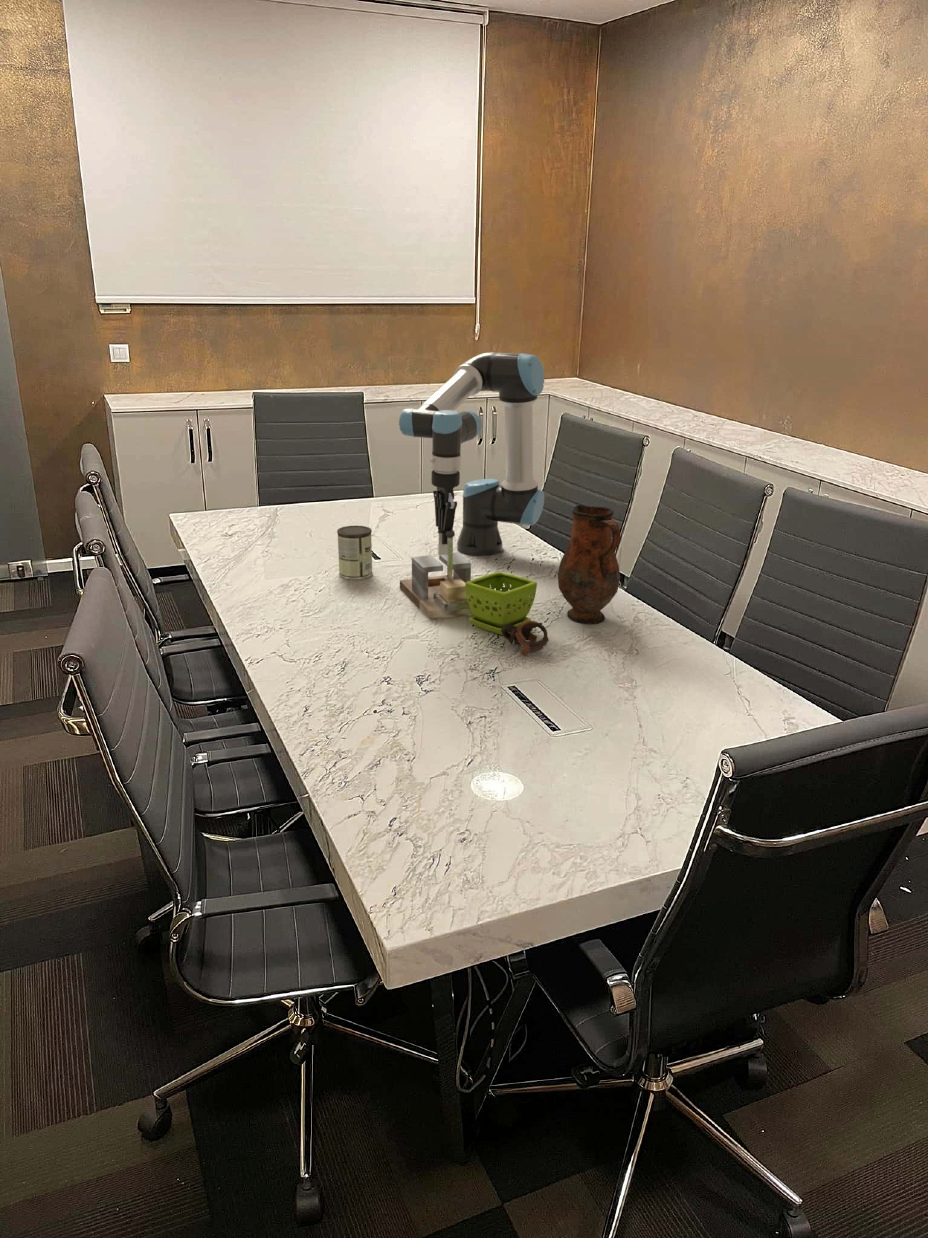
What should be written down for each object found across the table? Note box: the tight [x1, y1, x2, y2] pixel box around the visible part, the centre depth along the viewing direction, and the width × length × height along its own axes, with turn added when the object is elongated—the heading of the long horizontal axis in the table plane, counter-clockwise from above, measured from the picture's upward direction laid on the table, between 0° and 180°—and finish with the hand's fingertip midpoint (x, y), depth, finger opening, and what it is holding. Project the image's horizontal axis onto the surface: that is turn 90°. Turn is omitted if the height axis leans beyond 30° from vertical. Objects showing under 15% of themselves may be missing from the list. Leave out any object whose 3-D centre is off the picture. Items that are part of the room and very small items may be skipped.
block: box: [440, 579, 467, 603], centre depth 251 cm, size 6×6×6 cm
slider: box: [434, 529, 470, 611], centre depth 248 cm, size 9×10×20 cm
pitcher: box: [557, 504, 621, 625], centre depth 245 cm, size 17×21×30 cm
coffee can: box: [336, 525, 373, 581], centre depth 280 cm, size 10×10×14 cm
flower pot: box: [465, 571, 538, 636], centre depth 242 cm, size 14×14×13 cm
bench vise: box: [399, 552, 474, 621], centre depth 260 cm, size 16×27×12 cm, turn 21°
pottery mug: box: [501, 620, 550, 657], centre depth 230 cm, size 12×10×8 cm
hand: (443, 554), depth 255 cm, fingers closed
